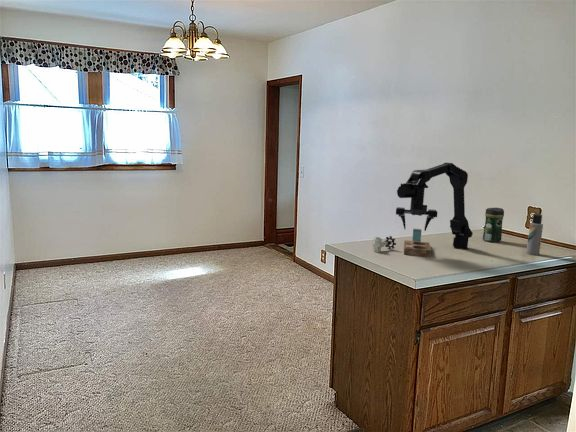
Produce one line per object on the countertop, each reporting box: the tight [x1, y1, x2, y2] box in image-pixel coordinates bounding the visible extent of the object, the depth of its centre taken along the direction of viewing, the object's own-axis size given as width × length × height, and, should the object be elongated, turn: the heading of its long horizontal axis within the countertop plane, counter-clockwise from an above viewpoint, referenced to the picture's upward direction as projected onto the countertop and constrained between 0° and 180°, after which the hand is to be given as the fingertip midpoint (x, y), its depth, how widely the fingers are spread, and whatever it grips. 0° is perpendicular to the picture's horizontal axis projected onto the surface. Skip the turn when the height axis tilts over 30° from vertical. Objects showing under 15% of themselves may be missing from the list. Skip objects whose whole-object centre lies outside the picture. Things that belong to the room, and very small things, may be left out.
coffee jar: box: [482, 207, 505, 243], centre depth 262 cm, size 10×8×19 cm
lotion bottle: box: [526, 213, 544, 256], centre depth 235 cm, size 6×6×20 cm
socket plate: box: [403, 239, 432, 258], centre depth 231 cm, size 12×18×3 cm, turn 166°
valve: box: [372, 235, 397, 253], centre depth 229 cm, size 7×7×12 cm
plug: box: [411, 228, 422, 242], centre depth 245 cm, size 4×4×8 cm
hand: (414, 230), depth 227 cm, fingers open, 9 cm apart
